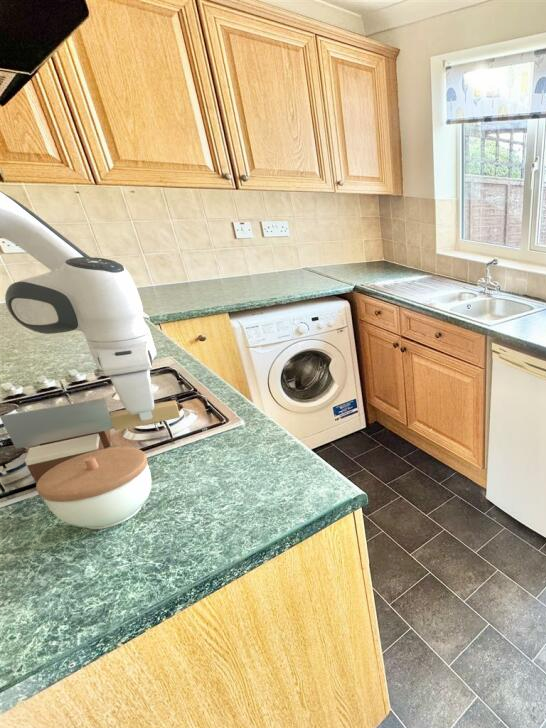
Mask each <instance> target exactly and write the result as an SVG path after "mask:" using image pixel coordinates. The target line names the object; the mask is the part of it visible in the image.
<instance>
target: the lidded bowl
mask: <svg viewBox="0 0 546 728" xmlns="http://www.w3.org/2000/svg"><path fill="white" fill-rule="evenodd" d="M148 462H149V461H148V458H147V455H146V453H145V452H144V451H143V450H141V449H139V448H135V447H130V446H115V447H105V448H104V449H101V450H96V451H92V452H89V453H85V454H82V455H79V456H76V457H74V458H71V459H69V460H66V461H64V462H62V463H60V464H58V465H56V466H55V467H53V468H51V469H50V470H49V471H47V472H46V473H45V474H44V475H43V476H41V478H40V479H39V480H38V482H37V484H35V489H36V491H37V493H38V495H39V497H41V498H42V500H43V501H44V503H45V505H46V506H47V508H48V509H49V510H50V512H51V513H52V514H53V515H54V516H55V517H56V518H57V519H59V520H60V521H62V522H64V523H66V524H68V525H70V526H74V527H78V528H79V527H80V528H86V529H90V530H103V529H108V528H112V527H115V526H117V525H120V524H122V523H125V522H127V521H128V520H130V519H131V518H133V517H134V516H136V515H137V514H138V513H139V512H140V510H141V509H142V506H143V505H144V504H145V503H146V501H147V500H148V498H149V495H150V494H151V491H152V483H153V482H152V472H151V469H150V467H149V464H148Z"/></svg>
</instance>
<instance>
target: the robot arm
mask: <svg viewBox="0 0 546 728" xmlns="http://www.w3.org/2000/svg"><path fill="white" fill-rule="evenodd" d="M0 238H2V239H4V240H6V241H8V242H10V243H12V244H13V245H16V246H17V247H19V248H20V249H21V250H23V251H24V252H25V253H27V254H28V255H29V256H31V257H32V258H34V259H35V260H36V261H38V262H39V263H40V264H41V265H43V266H44V267H46V268H47V269H48V270H49V271H48V272H45V273H43V274H38V275H35V276H32V277H28V278H27V277H26V278H24V279H21V280H19V281H16V282H13V283H12V284H10V285H9V286H8V287H7V289H6V292H5V295H4V297H5V298H4V299H5V300H4V301H5V306H6V308H7V311H8V312H9V314H10V315H11V317H12V318H13V319H14V320H15V321H16V322H17V323H18V324H20V325H21V326H23V327H25V328H26V329H28V330H30V331H33V332H35V333H39V334H44V335H52V334H53V335H54V334H61V333H62V334H63V333H68V332H72V331H78V332H81V333H83V334H84V337H85V340H86V344H87V346H88V349H89V351H90V354H91V357H92V359H93V362H94V363H95V364H96V365H97V366H99V368H100V369H101V371H102V374H103V375H104V377H109V379H110V381H111V384H112V386H113V388H114V389H115V392H116V394H117V396H118V398H119V399H120V401H121V404H122V405H123V407H124V408H125V409H126V410H127V411H128V413H129V414H139V416H140V419H141V420H148V419H151V418H152V413H151V411H152V410H154V404H155V398H154V393H153V392H154V391H153V387H152V386H153V385H152V379H151V369H153V361H154V359H155V357H156V356H157V355H158V352H157V349H156V346H155V342H154V338H153V335H152V333H151V329H150V327H149V325H148V324H147V323H146V320H145V319H144V306H143V303H142V300H141V299H142V298H141V297H140V293H139V291H138V287H137V285H136V284H135V281H134V279H133V277H132V275H131V274H130V272H129V271H128V269H127V268H126V267H125V266H124V265H123V264H122V263H119V262H117V261H115V260H113V259H109V258H103V257H92V256H90V255H88V254H87V253H86V252H84V251H83V250H82V249H80V248H79V247H78V246H76V245H75V244H74V242H71V241H70V240H69V239H68V238H67V237H65V236H64V235H63V234H62V233H60V231H58V230H57V229H55V228H54V227H52V226H51V225H50V224H49V223H47V222H46V221H45V220H44V219H42V218H41V217H40V216H39V215H37V214H36V213H34V212H33V211H32V210H30V209H29V208H27V206H25V205H24V204H22V203H21V202H20V201H18V200H16V199H15V198H13V197H11V196H10V195H8V194H7V193H4V192H2V191H1V190H0ZM125 409H124V410H125Z"/></svg>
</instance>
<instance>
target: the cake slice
mask: <svg viewBox="0 0 546 728" xmlns="http://www.w3.org/2000/svg"><path fill="white" fill-rule="evenodd" d="M101 449H105V448H104V446H103V444H102V442H101V439H100V437H99V435H98V434H94V435H89V436H84V437H80V438H75V439H70V440H66V441H61V442H56V443H51V444H47V445H42V446H40V445H38V446H37V445H36V446H32V447H29V448H28V451H27V453H26V456H25V459H24V463H25V465H26V467H27V469H28V470H29V472H30V474H31V476H32V478H33V480H34V482H35V485H37V482H38V480H39V479H40V478H41V476H43V475H44V474H45V473H46V472H47V471H49V470H50V469H51V468H53V467H55V466H56V465H58V464H60V463H62V462H64V461H66V460H69V459H71V458H74V457H76V456H79V455H82V454H85V453H89V452H92V451H96V450H101Z"/></svg>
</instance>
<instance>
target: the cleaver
mask: <svg viewBox="0 0 546 728" xmlns="http://www.w3.org/2000/svg"><path fill="white" fill-rule="evenodd" d="M151 413H152V418H151V419H148V420H141V419H140V416H139V414H129V413H128V411H127V410H126V409H120V410H114V411H111V412H110V410H109V408H108V405H107V402H106V400H105V398H104V397H102V398H97V399H91V400H85V401H80V402H79V401H78V402H73V403H68V404H67V403H66V404H62V405H55V406H50V407H44V408H39V409H33V410H27V411H20V412H15V413H10V414H4V415H2V414H1V415H0V421H1V422H2V424H3V426H4V428H5V430H6V431H7V434H8V436H9V438H10V440H11V443H12V444H13V446H14V448H15V450H17V449H22V448H27V447H31V446H32V447H33V446H37V445H39V444H42V443H47V442H52V441H56V440H61V439H66V438H71V437H76V436H81V435H86V434H91V433H96V432H100V431H105V430H110V431H111V430H114V431H121V430H126V429H130V428H136V427H141V426H145V425H149V424H154V423H159V422H165V421H170V420H175V419H180V418H181V415H180V410H179V406H178V403H177V401H176V399H173V400H169V401H163V402H157V403H154V410H152V411H151Z"/></svg>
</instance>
